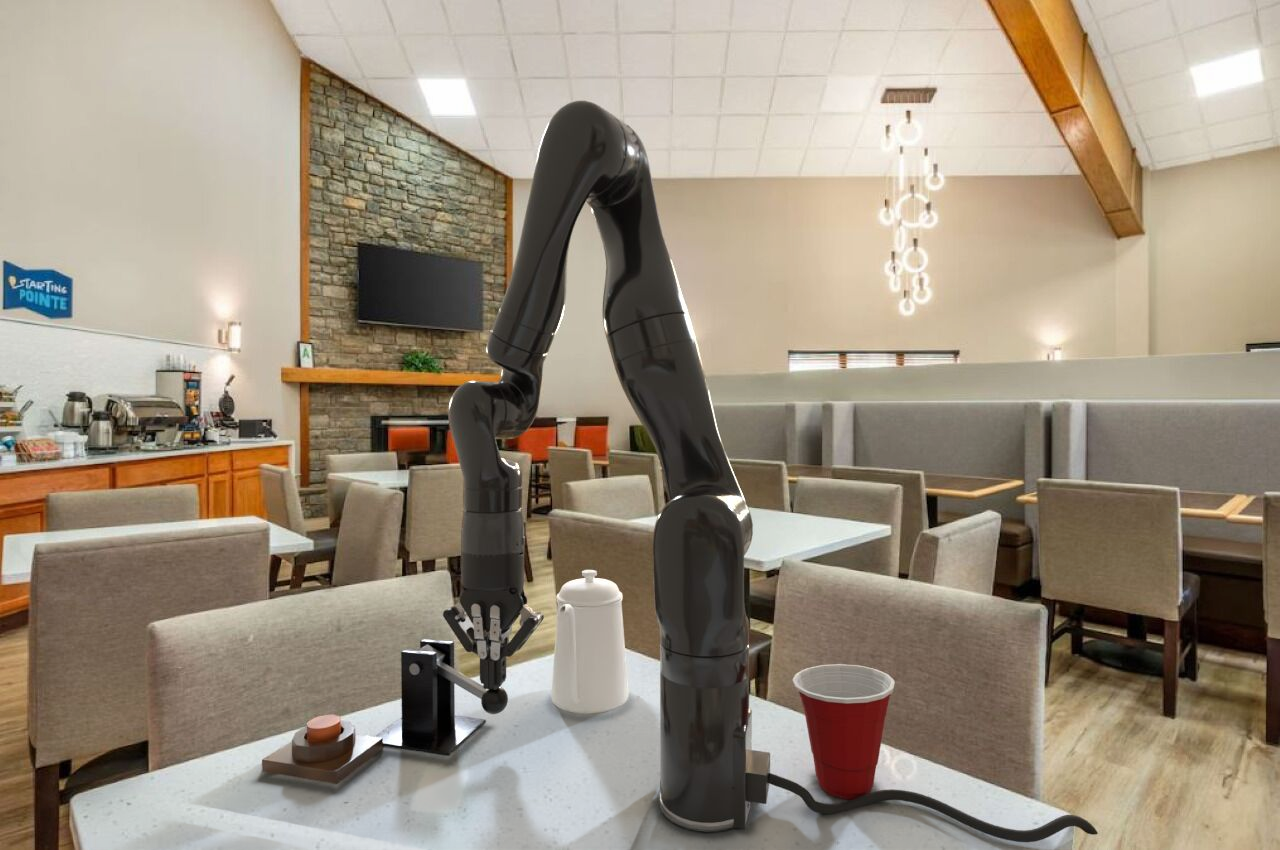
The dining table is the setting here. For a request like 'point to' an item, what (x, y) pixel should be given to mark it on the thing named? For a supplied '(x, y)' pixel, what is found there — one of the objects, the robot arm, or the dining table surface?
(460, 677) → the lever
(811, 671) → the plastic cup
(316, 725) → the warm button
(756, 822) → the dining table surface
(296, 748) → the button base
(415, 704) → the lever base
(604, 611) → the coffeepot
